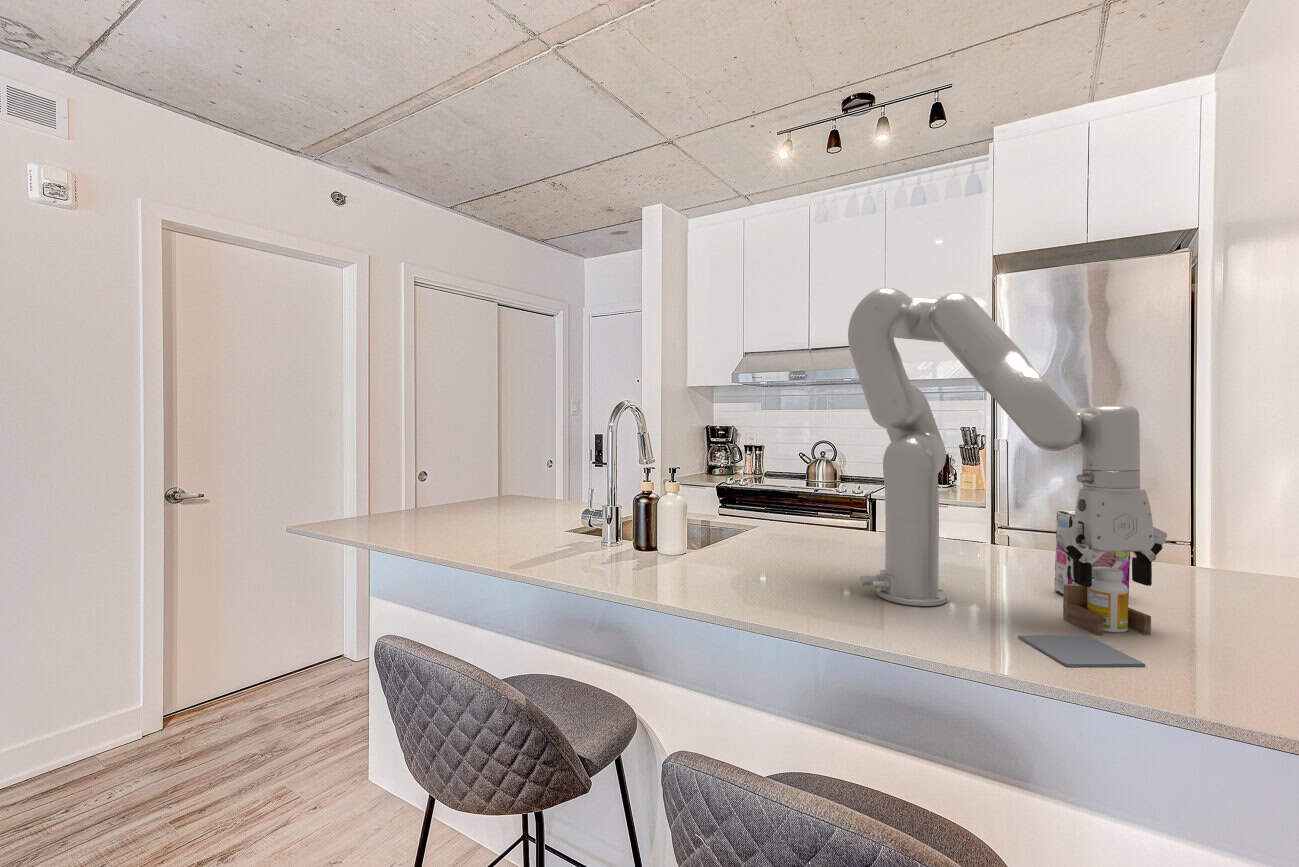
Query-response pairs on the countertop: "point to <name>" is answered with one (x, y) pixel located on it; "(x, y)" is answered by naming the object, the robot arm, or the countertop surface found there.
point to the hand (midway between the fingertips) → (1112, 584)
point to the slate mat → (1080, 651)
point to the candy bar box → (1097, 560)
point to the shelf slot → (1092, 621)
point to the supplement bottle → (1109, 598)
